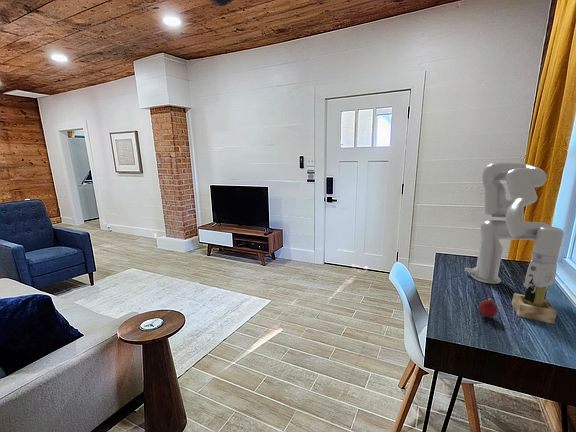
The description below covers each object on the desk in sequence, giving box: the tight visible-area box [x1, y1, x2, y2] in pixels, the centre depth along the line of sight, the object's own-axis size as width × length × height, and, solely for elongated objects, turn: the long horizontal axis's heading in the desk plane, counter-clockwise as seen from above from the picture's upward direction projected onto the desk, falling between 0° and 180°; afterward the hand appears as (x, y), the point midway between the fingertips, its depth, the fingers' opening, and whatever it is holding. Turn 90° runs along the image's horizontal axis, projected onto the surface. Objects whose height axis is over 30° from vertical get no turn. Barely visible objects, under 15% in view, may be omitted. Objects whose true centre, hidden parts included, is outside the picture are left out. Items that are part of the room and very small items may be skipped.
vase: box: [524, 283, 547, 307], centre depth 112 cm, size 6×6×14 cm
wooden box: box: [511, 292, 558, 325], centre depth 113 cm, size 11×11×5 cm
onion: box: [478, 298, 498, 318], centre depth 109 cm, size 6×6×8 cm
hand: (534, 299), depth 112 cm, fingers closed on vase, 5 cm apart
